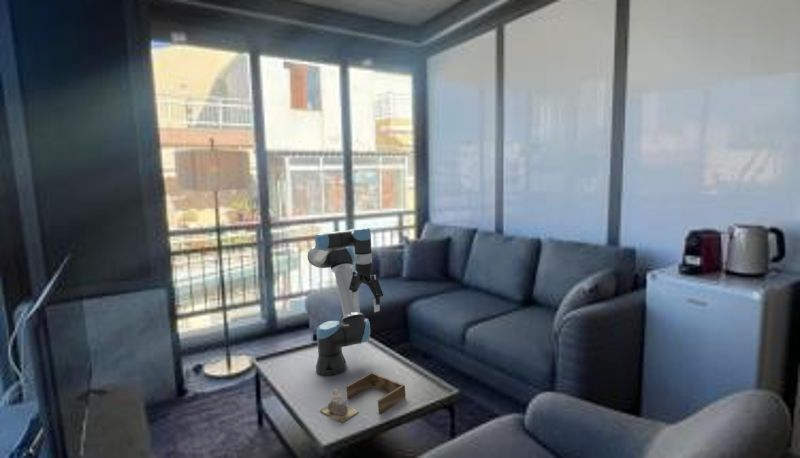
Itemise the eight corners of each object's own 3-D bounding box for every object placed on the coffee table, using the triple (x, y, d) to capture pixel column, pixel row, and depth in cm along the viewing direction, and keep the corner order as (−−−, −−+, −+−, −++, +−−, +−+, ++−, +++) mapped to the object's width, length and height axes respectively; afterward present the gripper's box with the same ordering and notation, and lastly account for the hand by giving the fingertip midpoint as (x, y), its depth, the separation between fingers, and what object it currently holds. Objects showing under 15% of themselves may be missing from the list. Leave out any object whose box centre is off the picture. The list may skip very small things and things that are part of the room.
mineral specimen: (324, 405, 186) (323, 391, 185) (340, 400, 189) (339, 387, 188) (332, 420, 175) (331, 405, 174) (350, 415, 178) (349, 401, 177)
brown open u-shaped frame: (347, 398, 191) (346, 385, 190) (372, 384, 203) (371, 372, 202) (380, 414, 178) (379, 400, 177) (405, 398, 190) (404, 385, 189)
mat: (319, 411, 183) (319, 410, 183) (336, 401, 189) (336, 400, 189) (342, 423, 174) (341, 421, 173) (358, 412, 180) (358, 411, 180)
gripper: (339, 260, 202) (342, 305, 205) (376, 268, 185) (379, 316, 188) (352, 257, 207) (354, 301, 210) (389, 264, 190) (392, 311, 193)
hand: (366, 308), depth 199 cm, fingers open, 13 cm apart
